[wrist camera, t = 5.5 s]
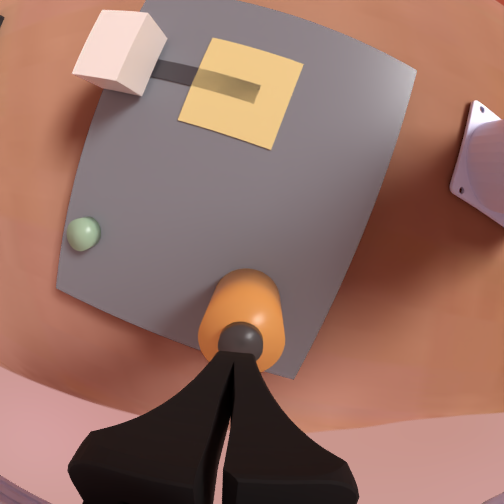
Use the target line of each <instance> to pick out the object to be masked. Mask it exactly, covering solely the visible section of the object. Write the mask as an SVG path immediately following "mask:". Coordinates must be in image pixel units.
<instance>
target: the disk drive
mask: <svg viewBox="0 0 504 504" xmlns="http://www.w3.org/2000/svg"><path fill="white" fill-rule="evenodd" d="M3 20H4V17H3V16H1V15H0V27H1V25H2V22H3Z"/></svg>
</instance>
